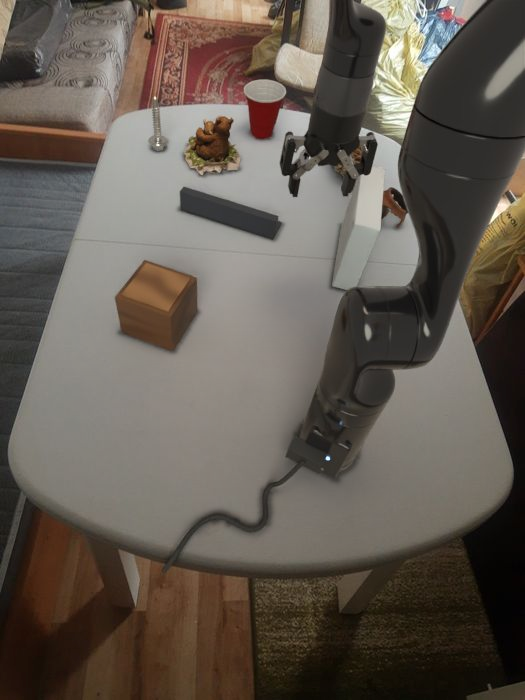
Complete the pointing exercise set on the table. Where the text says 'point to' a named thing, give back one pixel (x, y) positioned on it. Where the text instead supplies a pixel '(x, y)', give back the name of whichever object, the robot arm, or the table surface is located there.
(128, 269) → the table surface
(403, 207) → the brown round legged piece
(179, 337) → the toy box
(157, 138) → the screw
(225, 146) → the bear figurine
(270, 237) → the stop rail
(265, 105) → the plastic cup
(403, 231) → the table surface
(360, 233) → the skincare box
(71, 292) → the table surface
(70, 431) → the table surface
